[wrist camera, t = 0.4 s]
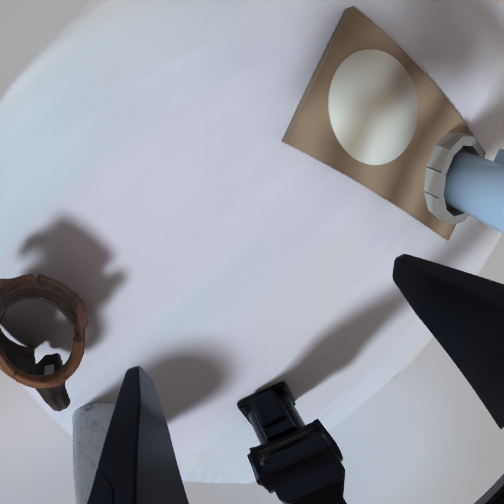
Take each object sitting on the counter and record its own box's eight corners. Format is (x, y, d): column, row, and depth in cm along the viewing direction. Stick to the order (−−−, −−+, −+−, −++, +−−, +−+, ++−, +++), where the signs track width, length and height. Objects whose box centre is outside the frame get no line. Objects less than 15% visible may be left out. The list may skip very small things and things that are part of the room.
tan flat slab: (479, 151, 30) (497, 157, 27) (442, 237, 34) (459, 247, 31) (345, 8, 18) (369, 2, 15) (281, 141, 21) (301, 147, 19)
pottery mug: (-29, 283, 17) (-46, 304, 11) (58, 247, 23) (73, 254, 18) (26, 398, 21) (38, 448, 15) (102, 361, 27) (133, 399, 21)
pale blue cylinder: (446, 212, 30) (527, 259, 20) (427, 181, 27) (524, 228, 17) (476, 158, 29) (556, 192, 19) (460, 122, 25) (553, 153, 15)
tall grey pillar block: (68, 397, 25) (69, 501, 15) (153, 405, 29) (175, 505, 19) (75, 439, 29) (82, 523, 18) (146, 444, 33) (164, 525, 22)
